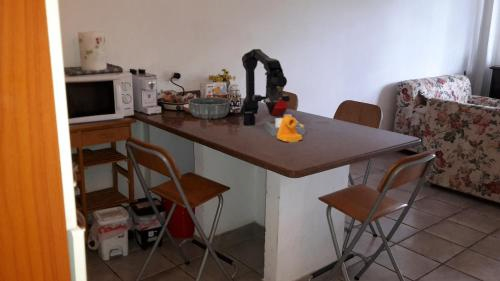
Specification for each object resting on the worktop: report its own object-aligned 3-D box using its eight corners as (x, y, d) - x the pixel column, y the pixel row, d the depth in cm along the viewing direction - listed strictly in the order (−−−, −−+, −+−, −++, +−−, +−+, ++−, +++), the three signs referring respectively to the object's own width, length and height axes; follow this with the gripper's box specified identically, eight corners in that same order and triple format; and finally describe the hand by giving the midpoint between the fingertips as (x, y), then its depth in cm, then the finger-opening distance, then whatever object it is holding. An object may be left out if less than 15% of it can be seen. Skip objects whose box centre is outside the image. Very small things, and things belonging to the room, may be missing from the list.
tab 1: (276, 130, 241) (276, 119, 240) (274, 129, 244) (275, 118, 243) (283, 130, 242) (284, 119, 241) (282, 129, 245) (282, 118, 243)
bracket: (284, 143, 225) (285, 119, 222) (276, 139, 231) (277, 116, 228) (302, 140, 230) (304, 117, 227) (294, 137, 236) (295, 114, 233)
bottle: (288, 118, 285) (289, 85, 280) (266, 117, 285) (267, 85, 280) (286, 113, 300) (288, 82, 295) (266, 112, 300) (267, 81, 295)
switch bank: (271, 135, 239) (271, 127, 238) (264, 127, 256) (264, 119, 255) (304, 135, 242) (305, 126, 241) (295, 127, 259) (295, 119, 258)
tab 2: (284, 126, 252) (284, 115, 251) (282, 124, 255) (283, 114, 253) (291, 126, 253) (291, 115, 251) (289, 124, 256) (290, 114, 254)
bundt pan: (198, 122, 266) (198, 105, 263) (181, 114, 288) (181, 98, 285) (238, 118, 279) (238, 102, 276) (219, 111, 301) (219, 96, 298)
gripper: (257, 86, 227) (256, 117, 231) (293, 86, 230) (291, 117, 234) (252, 83, 237) (251, 113, 241) (287, 83, 241) (286, 113, 245)
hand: (270, 114), depth 240 cm, fingers closed
